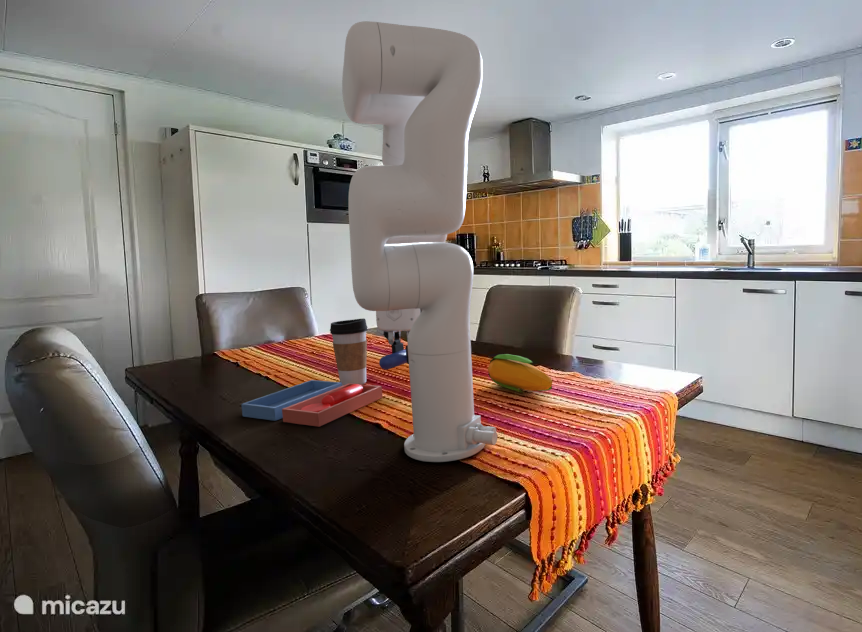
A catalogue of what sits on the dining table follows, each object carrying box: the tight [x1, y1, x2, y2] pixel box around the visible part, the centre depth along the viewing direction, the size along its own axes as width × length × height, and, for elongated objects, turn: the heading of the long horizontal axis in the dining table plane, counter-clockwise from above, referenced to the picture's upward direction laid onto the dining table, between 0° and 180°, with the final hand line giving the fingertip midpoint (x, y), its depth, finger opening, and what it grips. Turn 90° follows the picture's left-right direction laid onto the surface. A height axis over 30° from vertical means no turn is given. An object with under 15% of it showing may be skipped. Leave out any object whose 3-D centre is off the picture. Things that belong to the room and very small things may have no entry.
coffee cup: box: [329, 318, 369, 386], centre depth 119 cm, size 8×8×15 cm
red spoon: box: [301, 384, 363, 412], centre depth 101 cm, size 16×5×3 cm, turn 157°
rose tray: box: [282, 383, 383, 427], centre depth 101 cm, size 9×18×2 cm, turn 157°
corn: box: [487, 353, 553, 394], centre depth 108 cm, size 7×8×20 cm
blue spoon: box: [378, 348, 408, 371], centre depth 108 cm, size 16×5×3 cm, turn 157°
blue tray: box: [240, 379, 342, 422], centre depth 105 cm, size 9×18×2 cm, turn 157°
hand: (405, 361), depth 108 cm, fingers closed on blue spoon, 2 cm apart
